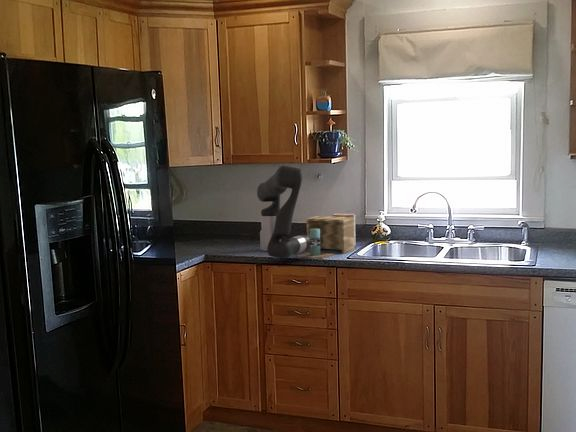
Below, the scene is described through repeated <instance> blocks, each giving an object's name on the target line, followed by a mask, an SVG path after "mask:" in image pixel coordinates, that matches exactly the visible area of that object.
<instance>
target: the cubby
mask: <svg viewBox="0 0 576 432" xmlns="http://www.w3.org/2000/svg"><path fill="white" fill-rule="evenodd" d="M310 229H320V237H323V244H322V245H320V249H323V250H324V249H325V250H326V249H327V250H338V251H341V254H343V255H344V254H347V253H350V252H353V251H355V247H354V217H332V216H328V215H327V216H325V215H315V216H310V217H307V218H306V236H308V237H310ZM307 252H310V248H309V249H308V250H307Z"/></svg>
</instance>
